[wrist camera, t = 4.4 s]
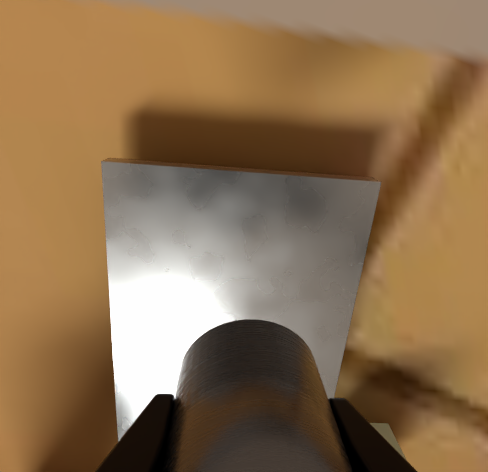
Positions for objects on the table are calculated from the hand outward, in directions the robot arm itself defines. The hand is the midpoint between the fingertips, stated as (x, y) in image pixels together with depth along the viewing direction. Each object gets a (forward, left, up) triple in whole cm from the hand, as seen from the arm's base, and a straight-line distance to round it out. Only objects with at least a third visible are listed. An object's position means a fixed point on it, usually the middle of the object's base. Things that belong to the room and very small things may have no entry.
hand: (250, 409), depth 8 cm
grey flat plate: (0, +6, -11) cm, 13 cm away
